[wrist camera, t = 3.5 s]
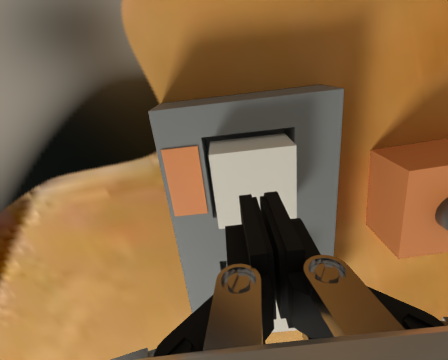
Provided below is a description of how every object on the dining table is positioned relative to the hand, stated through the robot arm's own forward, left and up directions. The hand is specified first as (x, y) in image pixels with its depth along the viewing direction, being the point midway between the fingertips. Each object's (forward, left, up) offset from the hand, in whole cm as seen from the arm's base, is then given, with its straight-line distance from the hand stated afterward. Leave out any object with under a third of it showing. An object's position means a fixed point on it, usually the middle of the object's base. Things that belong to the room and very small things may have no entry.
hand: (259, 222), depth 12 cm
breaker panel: (0, +6, -11) cm, 12 cm away
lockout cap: (-14, +5, -11) cm, 19 cm away
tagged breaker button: (0, +1, -7) cm, 7 cm away
